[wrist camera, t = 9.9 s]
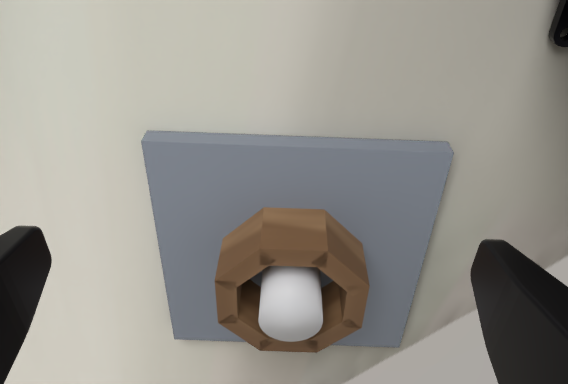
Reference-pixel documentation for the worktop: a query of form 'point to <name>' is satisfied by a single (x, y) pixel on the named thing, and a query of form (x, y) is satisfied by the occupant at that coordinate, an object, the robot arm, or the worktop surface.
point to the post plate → (292, 194)
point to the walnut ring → (291, 252)
